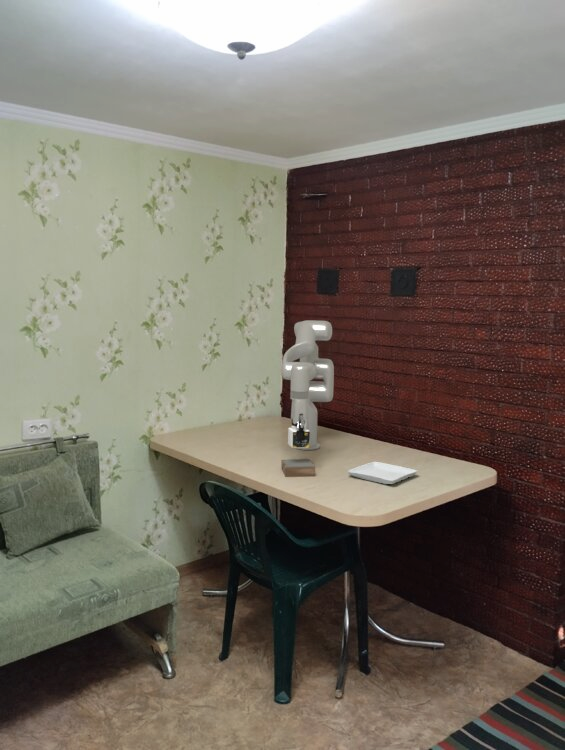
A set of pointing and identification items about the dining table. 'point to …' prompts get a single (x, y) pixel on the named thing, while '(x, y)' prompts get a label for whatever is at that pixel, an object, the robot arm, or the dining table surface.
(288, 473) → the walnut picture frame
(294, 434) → the medicine bottle
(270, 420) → the dining table surface
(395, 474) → the salad plate
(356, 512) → the dining table surface
